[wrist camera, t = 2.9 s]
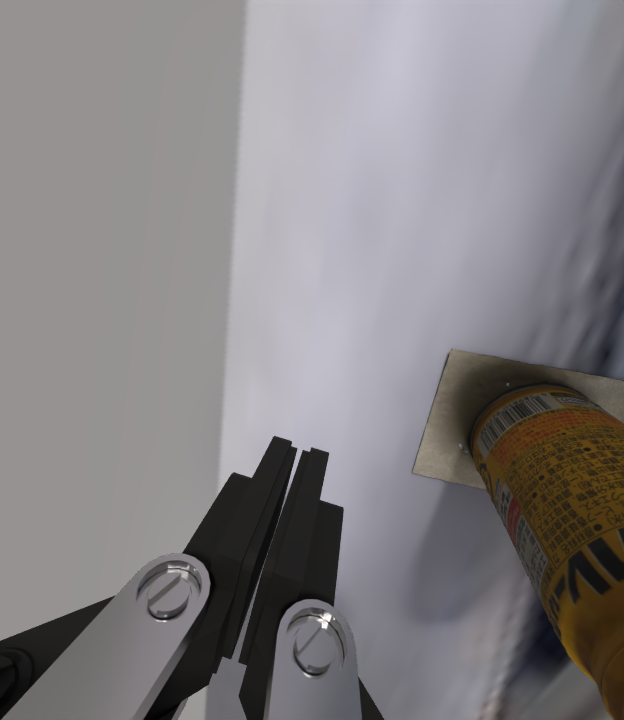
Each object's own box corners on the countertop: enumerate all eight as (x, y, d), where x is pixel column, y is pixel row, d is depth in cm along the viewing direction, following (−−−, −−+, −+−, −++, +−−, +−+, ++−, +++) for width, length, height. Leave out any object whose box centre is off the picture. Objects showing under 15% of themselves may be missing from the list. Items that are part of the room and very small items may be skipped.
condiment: (573, 508, 18) (931, 968, 6) (411, 470, 18) (473, 815, 7) (640, 382, 15) (1424, 776, 4) (449, 346, 16) (633, 580, 5)
